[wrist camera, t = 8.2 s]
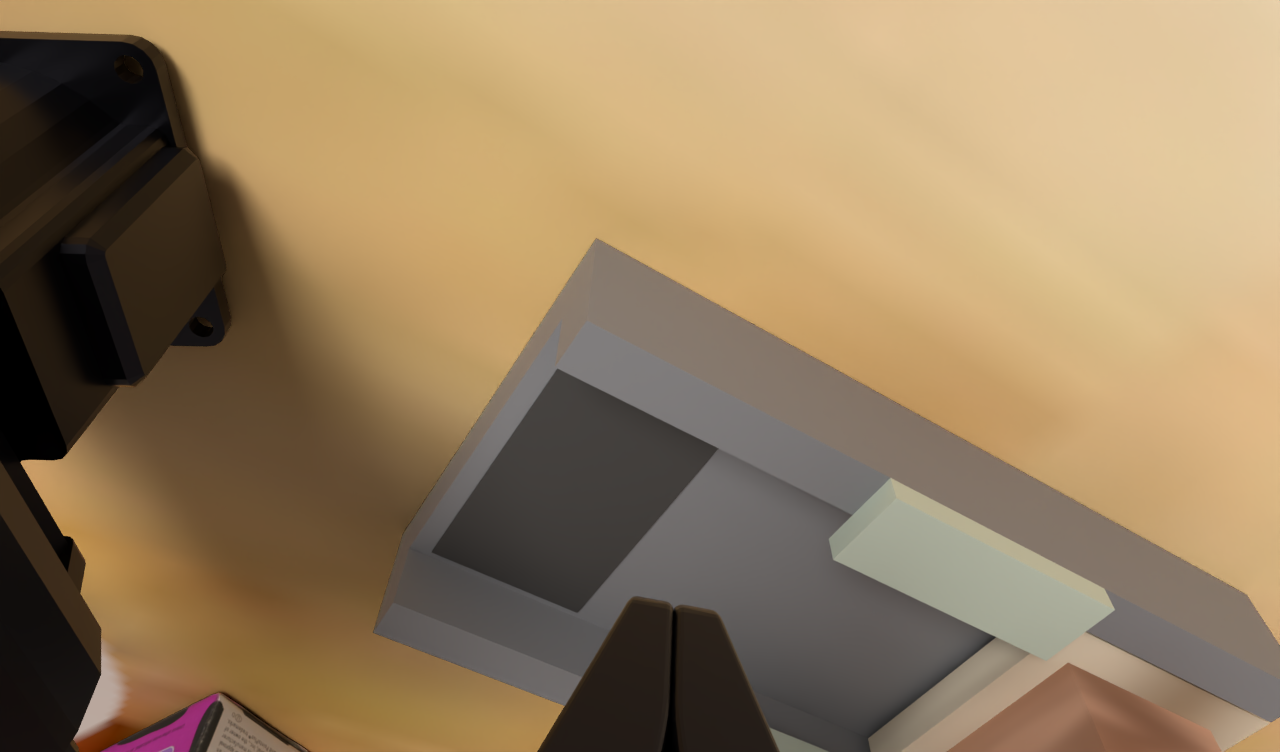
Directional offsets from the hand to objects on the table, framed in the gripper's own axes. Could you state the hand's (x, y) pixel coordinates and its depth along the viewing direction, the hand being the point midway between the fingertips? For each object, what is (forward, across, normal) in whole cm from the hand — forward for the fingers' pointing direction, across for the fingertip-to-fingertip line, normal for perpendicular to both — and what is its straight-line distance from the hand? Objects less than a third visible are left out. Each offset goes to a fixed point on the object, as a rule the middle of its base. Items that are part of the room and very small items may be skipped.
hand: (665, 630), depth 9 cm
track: (+12, -6, +11) cm, 17 cm away
